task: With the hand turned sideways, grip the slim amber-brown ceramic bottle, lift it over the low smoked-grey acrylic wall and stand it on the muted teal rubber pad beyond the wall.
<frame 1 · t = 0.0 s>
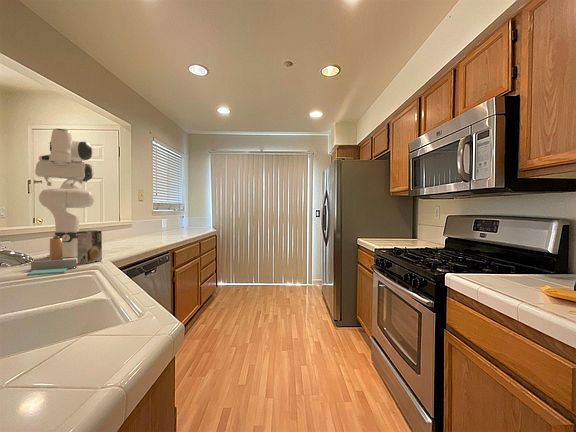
hand: (60, 186, 155), 39 cm above the counter, tool pointing down, fingers open, 8 cm apart
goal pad: (48, 272, 129), on the counter
amber bottle: (56, 265, 144), on the counter
acrylic wall: (54, 269, 135), on the counter
coffee box: (89, 262, 155), on the counter
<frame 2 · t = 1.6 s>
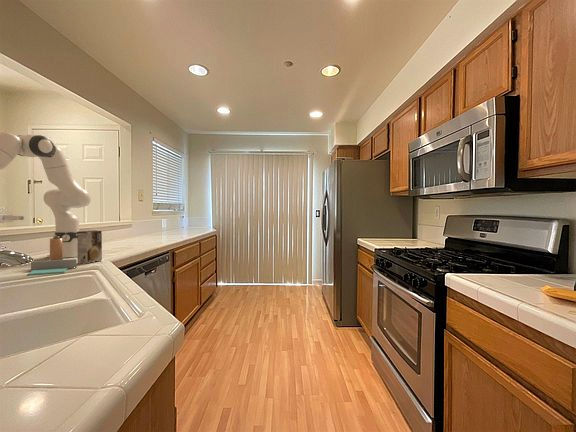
hand: (21, 218, 138), 23 cm above the counter, tool horizontal, fingers open, 8 cm apart
nothing on the counter moved.
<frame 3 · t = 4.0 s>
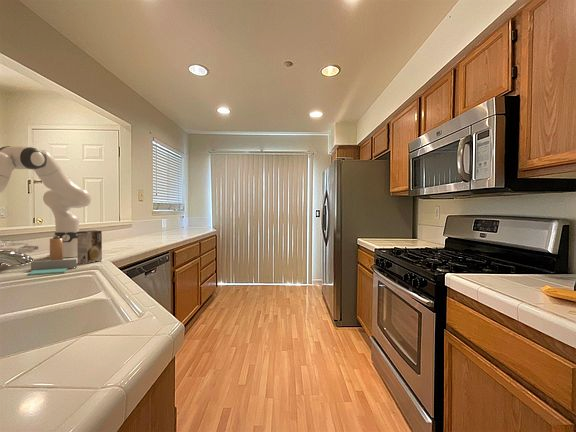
hand: (35, 248, 141), 8 cm above the counter, tool horizontal, fingers open, 8 cm apart
nothing on the counter moved.
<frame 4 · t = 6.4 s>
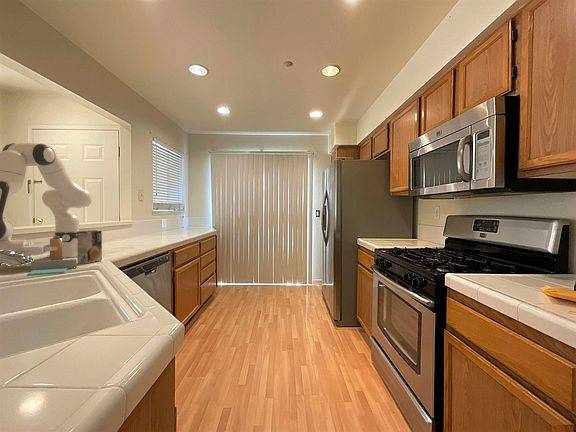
hand: (58, 247, 145), 9 cm above the counter, tool horizontal, fingers closed on amber bottle, 5 cm apart
amber bottle: (56, 265, 144), on the counter, touching gripper
everything else where it was.
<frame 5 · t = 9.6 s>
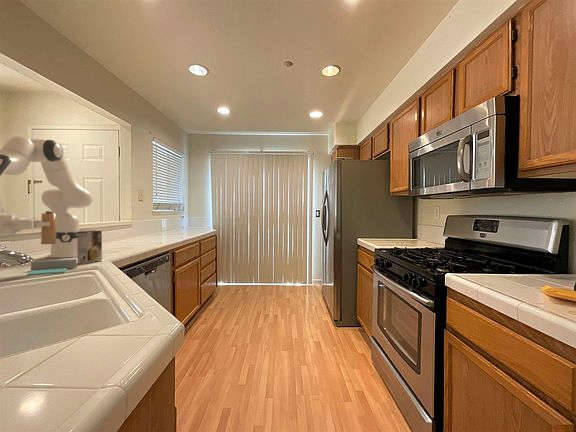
hand: (51, 223, 131), 20 cm above the counter, tool horizontal, fingers closed on amber bottle, 5 cm apart
amber bottle: (48, 243, 130), point 12 cm above the counter, touching gripper
everything else where it was.
when the fingers open (11 cm above the counter, at t = 12.6 s): amber bottle drops 1 cm, resting on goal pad.
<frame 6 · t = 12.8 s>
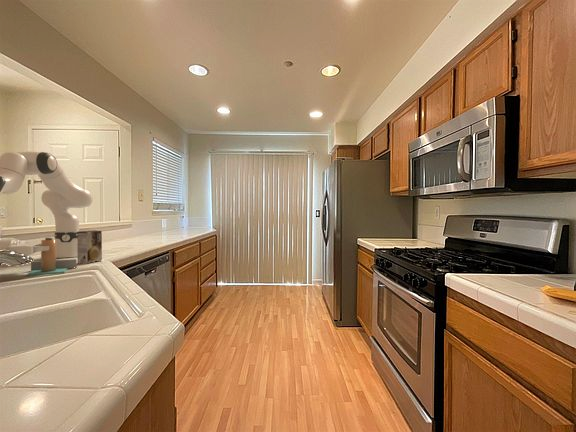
hand: (51, 247, 129), 11 cm above the counter, tool horizontal, fingers open, 7 cm apart
amber bottle: (48, 270, 129), point 1 cm above the counter, touching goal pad
everything else where it was.
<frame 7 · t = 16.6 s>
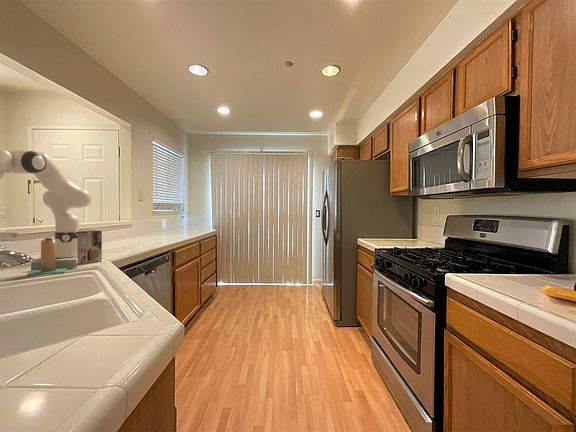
hand: (14, 235, 125), 16 cm above the counter, tool horizontal, fingers open, 8 cm apart
nothing on the counter moved.
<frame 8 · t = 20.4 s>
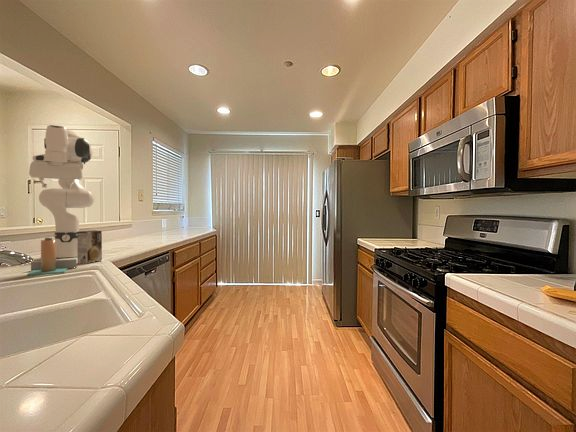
hand: (57, 188, 145), 37 cm above the counter, tool pointing down, fingers open, 8 cm apart
nothing on the counter moved.
at the end: amber bottle inside the target area (0.0 cm from its centre), point 0.6 cm above the counter; amber bottle tilted 0°; the gripper is holding nothing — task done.
